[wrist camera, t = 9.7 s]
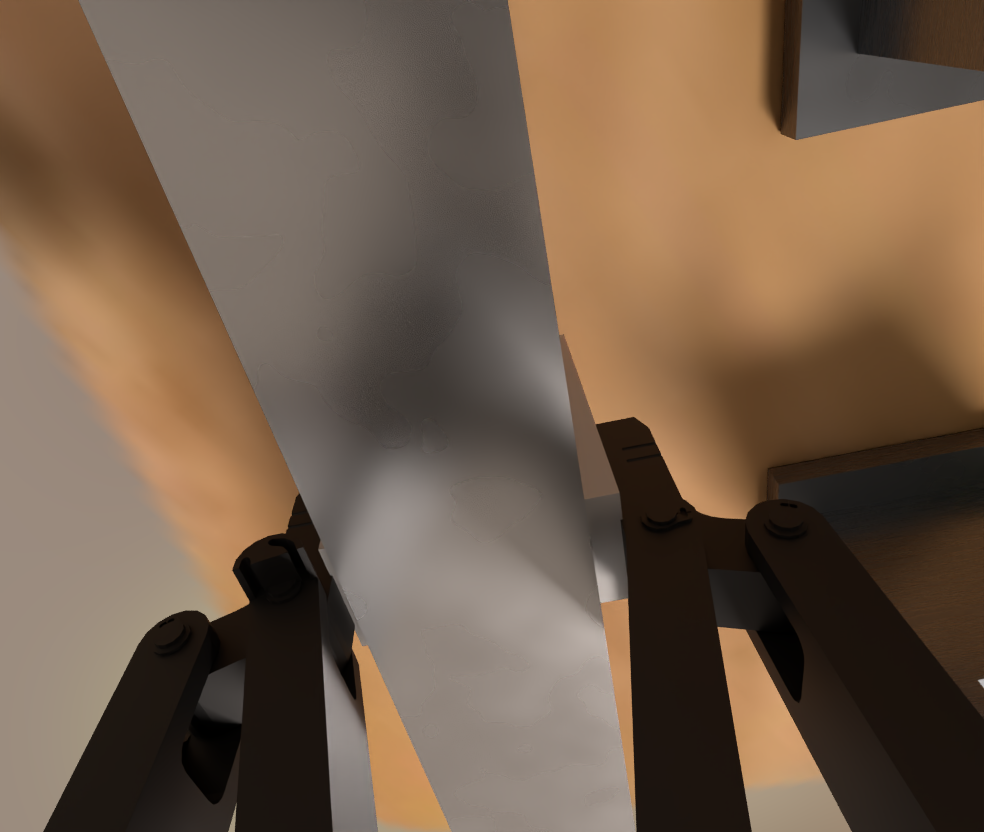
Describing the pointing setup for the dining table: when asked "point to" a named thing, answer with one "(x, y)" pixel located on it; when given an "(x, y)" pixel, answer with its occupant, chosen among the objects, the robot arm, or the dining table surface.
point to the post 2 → (912, 536)
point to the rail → (401, 360)
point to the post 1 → (877, 61)
